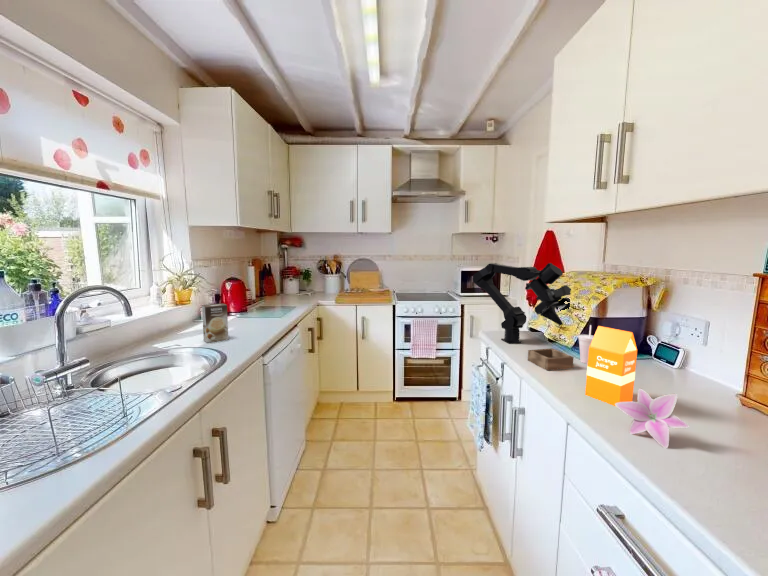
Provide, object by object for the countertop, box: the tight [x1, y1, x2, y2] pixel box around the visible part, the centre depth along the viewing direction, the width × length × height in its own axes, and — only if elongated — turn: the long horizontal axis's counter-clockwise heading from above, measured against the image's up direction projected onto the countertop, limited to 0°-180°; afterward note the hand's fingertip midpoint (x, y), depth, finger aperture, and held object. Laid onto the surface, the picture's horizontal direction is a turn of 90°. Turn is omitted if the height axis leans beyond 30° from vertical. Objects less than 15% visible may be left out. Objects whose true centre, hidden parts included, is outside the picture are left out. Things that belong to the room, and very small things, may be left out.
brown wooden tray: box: [527, 347, 574, 371], centre depth 120 cm, size 10×10×4 cm
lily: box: [614, 387, 690, 449], centre depth 75 cm, size 12×12×10 cm
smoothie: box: [577, 324, 594, 365], centre depth 122 cm, size 6×6×14 cm
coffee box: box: [201, 303, 229, 344], centre depth 149 cm, size 9×6×16 cm
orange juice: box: [584, 325, 638, 407], centre depth 92 cm, size 8×9×20 cm
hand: (568, 323), depth 127 cm, fingers open, 9 cm apart
